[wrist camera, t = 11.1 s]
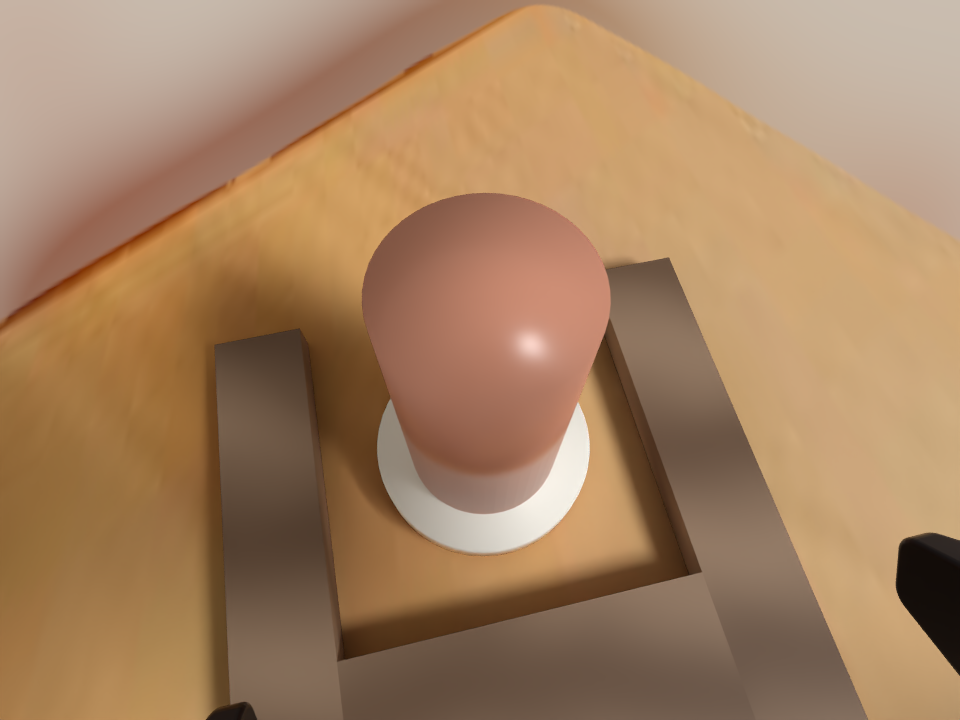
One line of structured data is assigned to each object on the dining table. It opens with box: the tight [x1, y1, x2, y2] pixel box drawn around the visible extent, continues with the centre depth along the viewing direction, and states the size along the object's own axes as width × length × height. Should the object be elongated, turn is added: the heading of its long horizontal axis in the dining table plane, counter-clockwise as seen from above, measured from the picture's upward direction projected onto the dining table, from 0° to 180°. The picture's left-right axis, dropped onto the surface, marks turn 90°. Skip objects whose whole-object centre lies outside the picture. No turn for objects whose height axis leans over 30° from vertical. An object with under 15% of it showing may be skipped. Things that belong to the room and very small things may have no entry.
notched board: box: [215, 258, 868, 720], centre depth 20 cm, size 16×17×1 cm
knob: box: [362, 193, 611, 556], centre depth 17 cm, size 7×7×10 cm
